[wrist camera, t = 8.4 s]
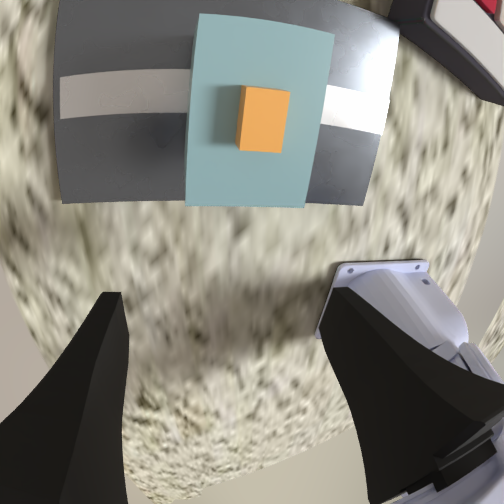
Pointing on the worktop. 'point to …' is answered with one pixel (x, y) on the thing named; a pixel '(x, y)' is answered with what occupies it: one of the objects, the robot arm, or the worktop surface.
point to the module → (253, 111)
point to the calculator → (459, 39)
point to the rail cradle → (177, 88)
